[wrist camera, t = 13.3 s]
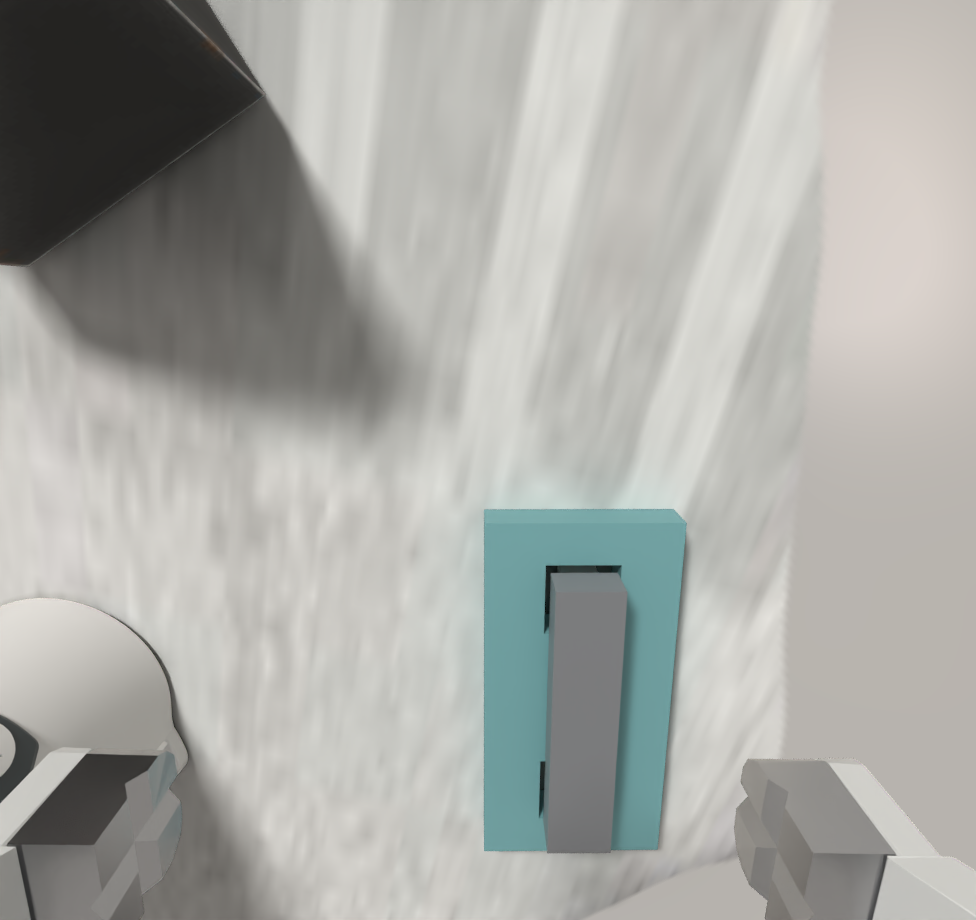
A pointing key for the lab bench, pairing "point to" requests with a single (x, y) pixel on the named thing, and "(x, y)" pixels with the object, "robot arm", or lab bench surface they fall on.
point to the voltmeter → (103, 106)
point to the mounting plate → (524, 661)
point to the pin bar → (583, 707)
